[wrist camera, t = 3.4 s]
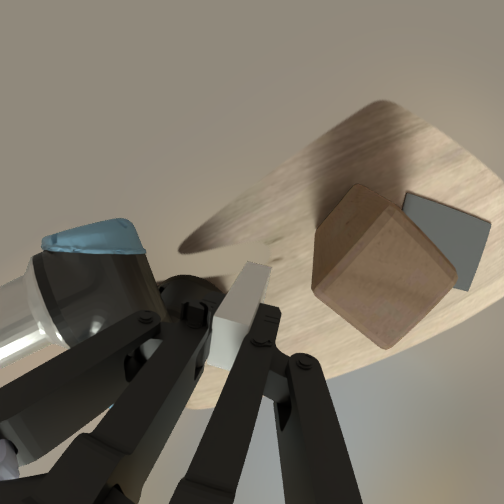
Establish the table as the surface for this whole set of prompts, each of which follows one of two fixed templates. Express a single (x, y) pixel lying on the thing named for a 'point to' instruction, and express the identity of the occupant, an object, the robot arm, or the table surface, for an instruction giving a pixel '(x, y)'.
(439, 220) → the mat
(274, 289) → the table surface
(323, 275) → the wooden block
